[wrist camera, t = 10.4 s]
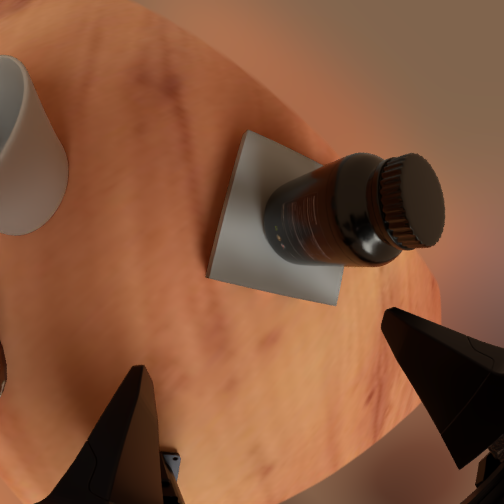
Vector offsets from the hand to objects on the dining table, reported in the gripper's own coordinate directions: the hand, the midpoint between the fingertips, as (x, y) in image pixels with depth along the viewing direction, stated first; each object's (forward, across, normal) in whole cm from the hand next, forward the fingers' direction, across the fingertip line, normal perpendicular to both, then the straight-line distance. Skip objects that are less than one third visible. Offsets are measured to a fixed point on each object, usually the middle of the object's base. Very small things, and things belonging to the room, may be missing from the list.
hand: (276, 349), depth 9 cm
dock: (+16, -6, +2) cm, 17 cm away
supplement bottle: (+14, -6, +1) cm, 15 cm away
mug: (+14, +17, -7) cm, 23 cm away
